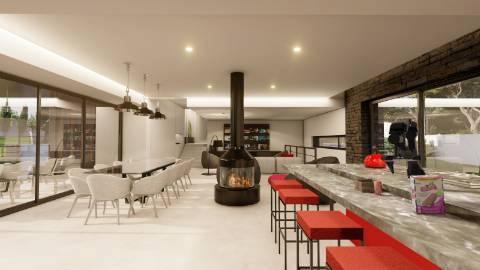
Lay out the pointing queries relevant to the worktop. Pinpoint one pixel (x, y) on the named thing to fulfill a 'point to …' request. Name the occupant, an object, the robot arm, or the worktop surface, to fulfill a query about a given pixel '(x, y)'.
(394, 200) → the worktop surface
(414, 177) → the candy bar box
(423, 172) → the robot arm
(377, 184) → the peg
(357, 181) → the bored tray
